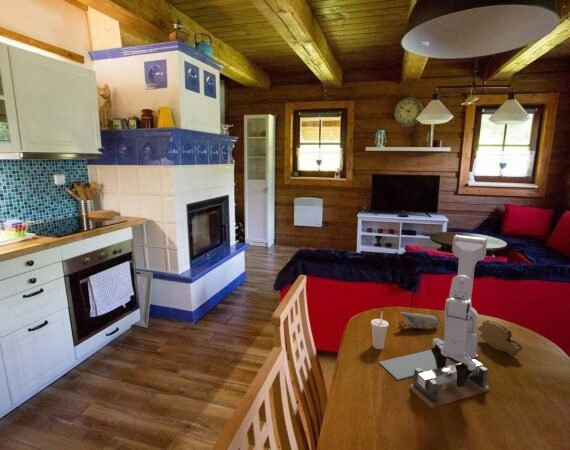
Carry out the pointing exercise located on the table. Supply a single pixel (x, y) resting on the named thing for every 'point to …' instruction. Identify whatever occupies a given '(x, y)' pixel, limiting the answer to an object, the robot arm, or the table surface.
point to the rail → (443, 375)
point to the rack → (450, 388)
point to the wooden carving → (499, 337)
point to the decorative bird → (419, 320)
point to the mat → (411, 364)
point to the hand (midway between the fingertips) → (450, 377)
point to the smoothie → (379, 332)
